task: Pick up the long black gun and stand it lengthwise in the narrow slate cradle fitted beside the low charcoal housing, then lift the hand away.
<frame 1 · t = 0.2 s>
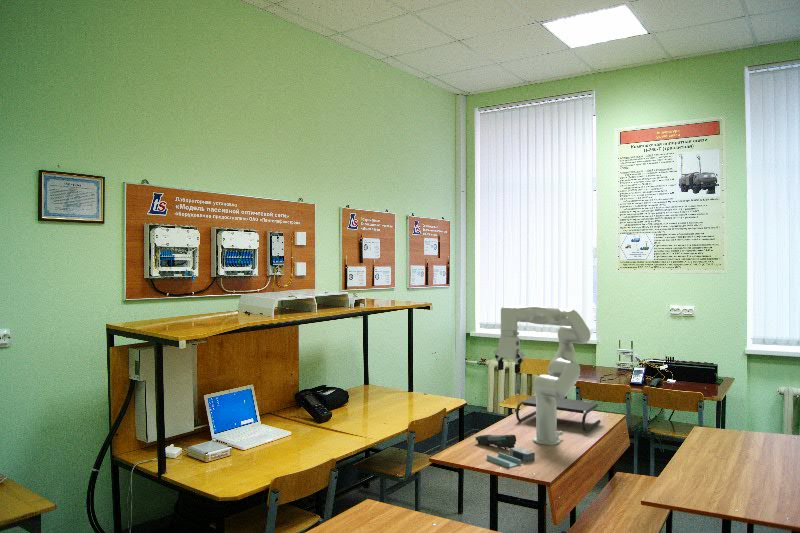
hand: (508, 371, 260), 36 cm above the table, tool pointing down, fingers open, 9 cm apart
cradle tray: (503, 462, 243), on the table
housing: (522, 458, 248), on the table
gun: (496, 448, 264), on the table
monitor stand: (558, 423, 307), on the table
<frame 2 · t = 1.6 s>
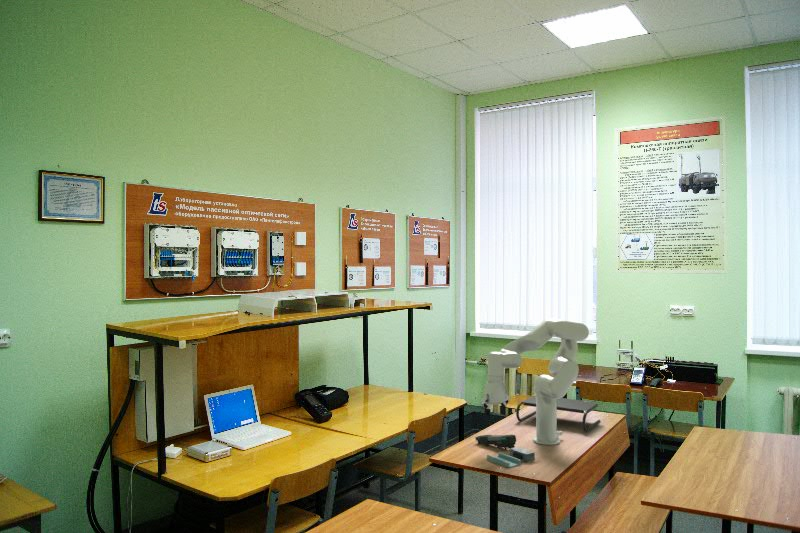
hand: (495, 415, 264), 14 cm above the table, tool pointing down, fingers open, 9 cm apart
nothing on the table moved.
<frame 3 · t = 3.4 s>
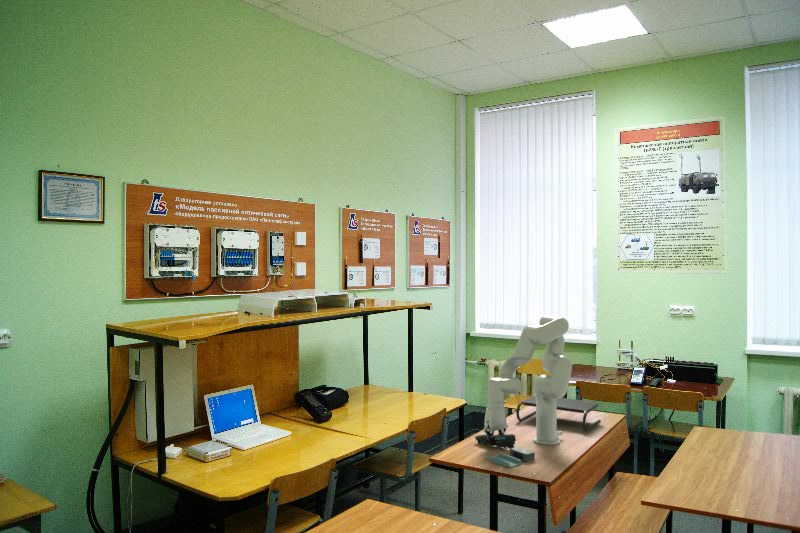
hand: (495, 443, 264), 2 cm above the table, tool pointing down, fingers closed on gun, 5 cm apart
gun: (495, 447, 264), on the table, touching gripper
everything else where it was.
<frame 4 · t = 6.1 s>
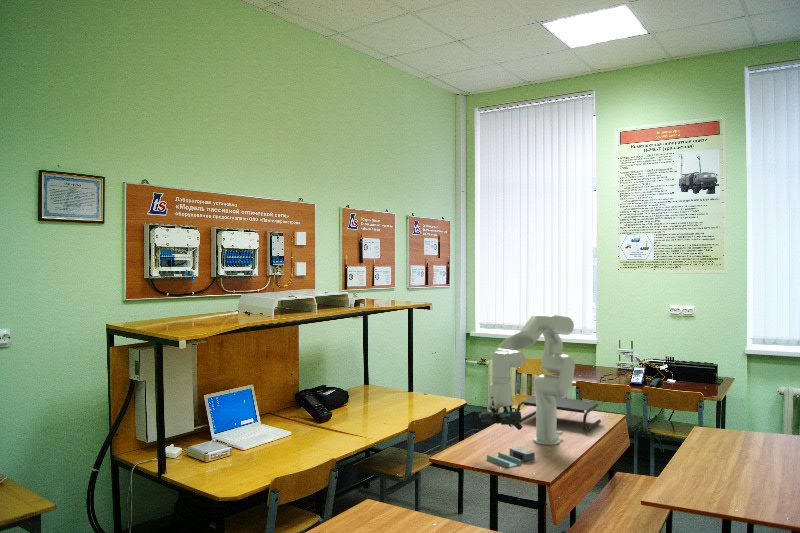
hand: (500, 421, 249), 16 cm above the table, tool pointing down, fingers closed on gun, 5 cm apart
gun: (500, 425, 249), point 14 cm above the table, touching gripper
everything else where it was.
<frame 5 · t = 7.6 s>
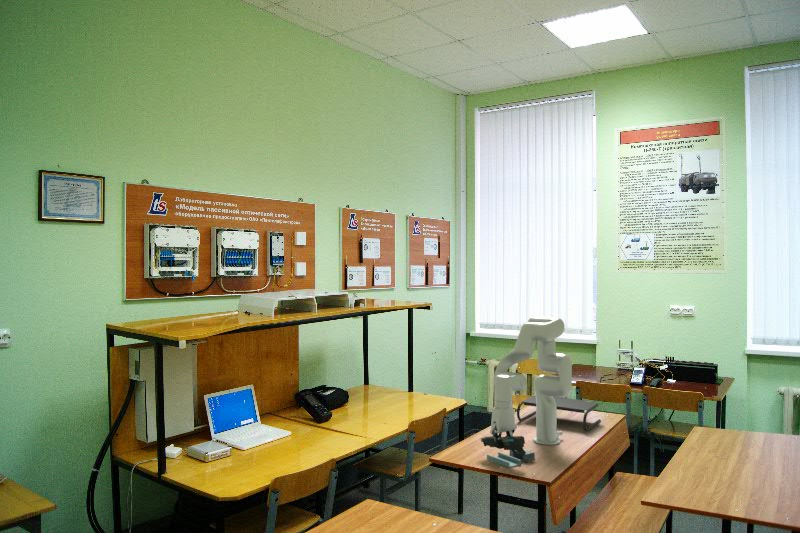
hand: (503, 446, 244), 7 cm above the table, tool pointing down, fingers closed on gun, 5 cm apart
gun: (503, 450, 244), point 5 cm above the table, touching gripper
when the fingers open (3 cm above the table, at t = 8.8 s): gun stays where it is, resting on cradle tray.
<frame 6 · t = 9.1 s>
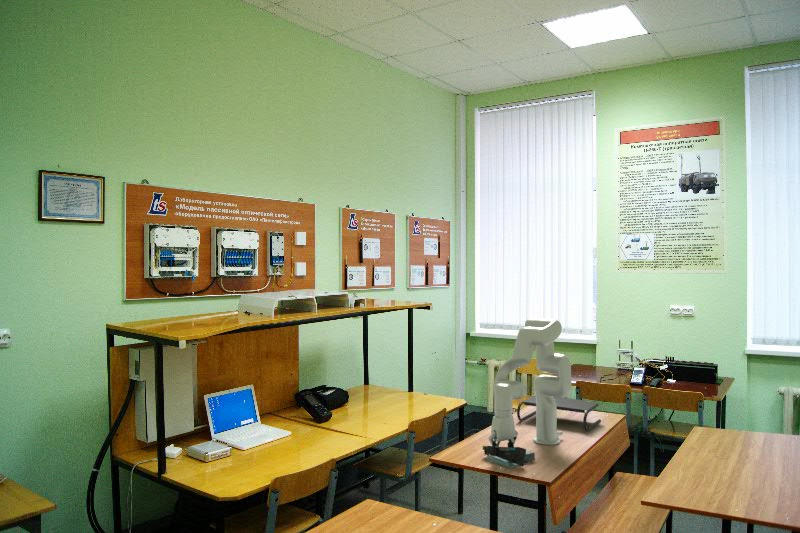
hand: (503, 454, 243), 3 cm above the table, tool pointing down, fingers open, 7 cm apart
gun: (502, 460, 243), point 1 cm above the table, touching cradle tray
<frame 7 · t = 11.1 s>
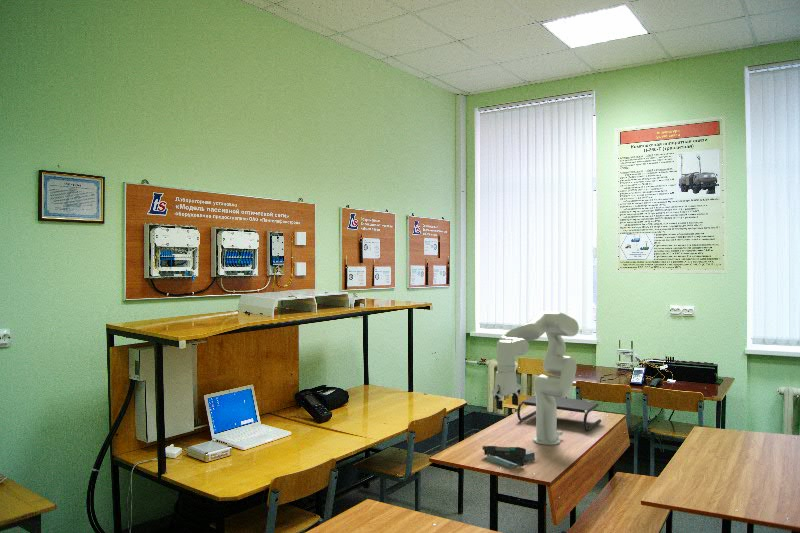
hand: (507, 407, 252), 22 cm above the table, tool pointing down, fingers open, 9 cm apart
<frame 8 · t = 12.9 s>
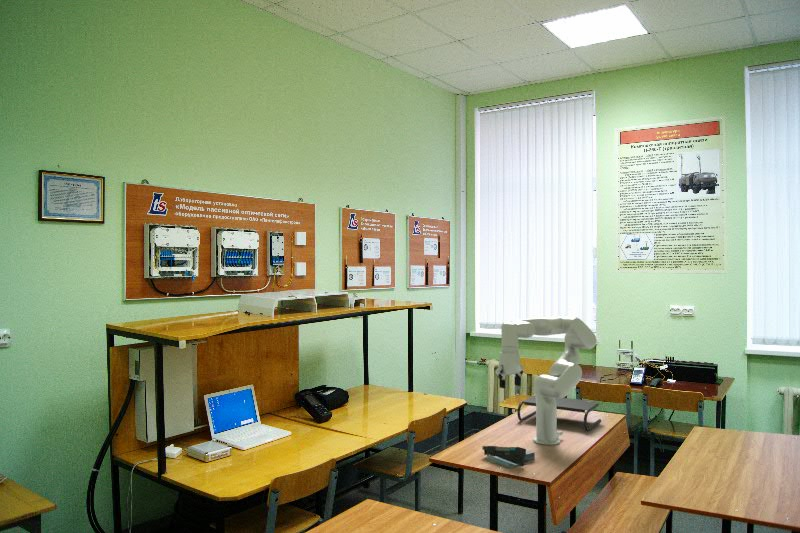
hand: (510, 386, 263), 28 cm above the table, tool pointing down, fingers open, 9 cm apart
at the end: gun 0.5 cm off-centre on the cradle tray, point 0.7 cm above the cradle tray's base; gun tilted 19°; the gripper is holding nothing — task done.
